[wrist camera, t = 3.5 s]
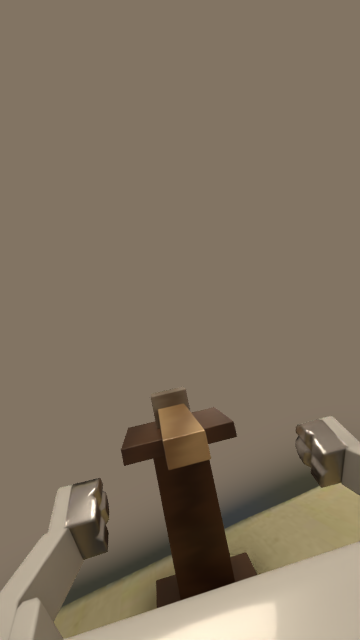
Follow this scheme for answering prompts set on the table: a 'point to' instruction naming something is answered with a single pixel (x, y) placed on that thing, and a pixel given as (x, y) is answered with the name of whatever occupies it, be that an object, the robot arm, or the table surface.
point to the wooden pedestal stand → (190, 513)
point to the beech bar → (179, 429)
